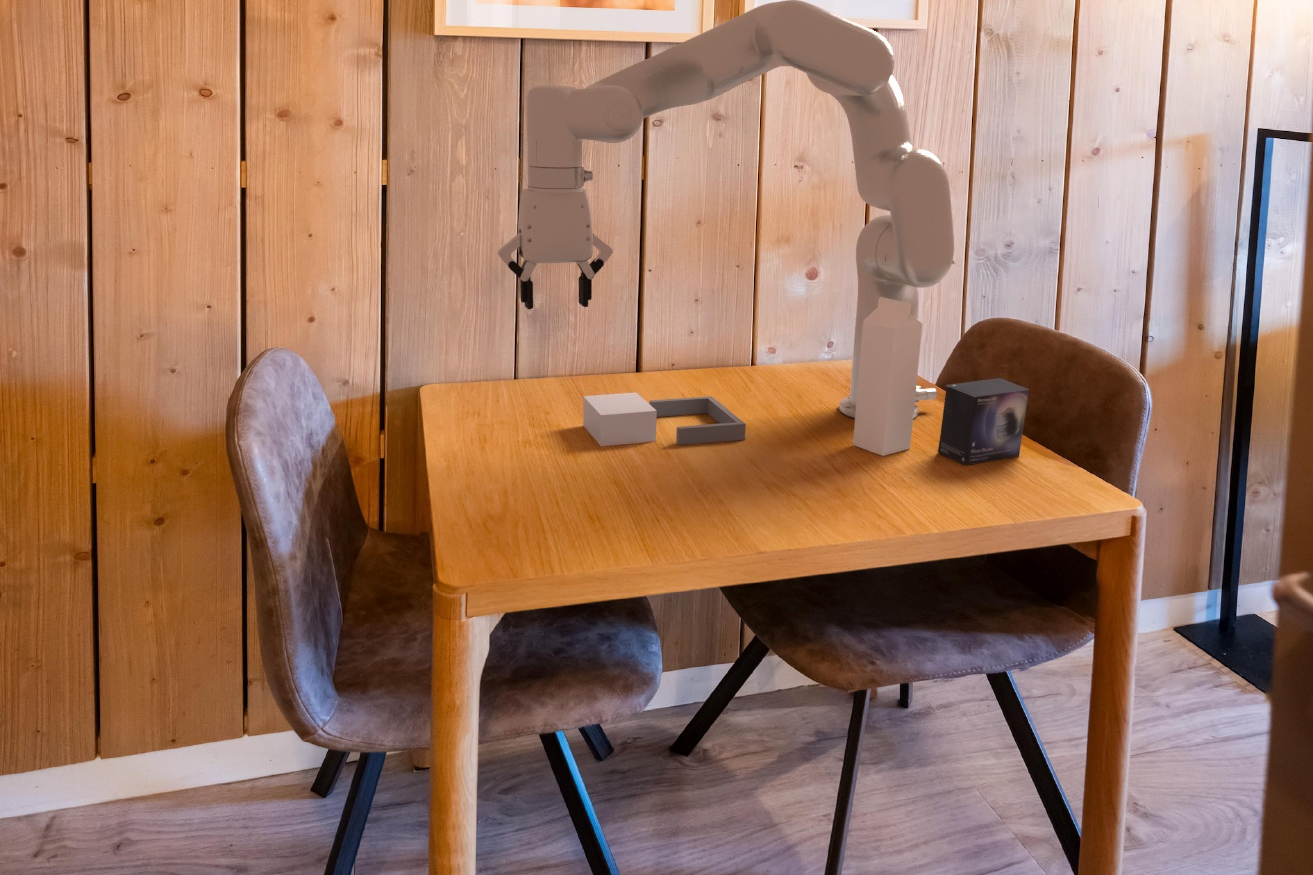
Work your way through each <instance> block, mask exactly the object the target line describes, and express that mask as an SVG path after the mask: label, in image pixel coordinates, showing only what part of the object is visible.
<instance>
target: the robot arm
mask: <svg viewBox="0 0 1313 875" xmlns="http://www.w3.org/2000/svg"><path fill="white" fill-rule="evenodd" d="M894 55H895V54H894V52H893V49H892V47H891V45H890V43H889V42H888V41H887V39H886V38H885V37H884V36H883V35H881V34H880V33H879V32H877V31H874V30H873V29H871V28H868V27H866V26H863V25H861V24H858V23H856V22H853V21H851V20H849V19H847V18H844V17H842V16H839V15H838V14H835V13H833V12H831V11H828V10H826V9H824V8H821V7H819V6H817V5H814V4H813V3H809V2H806V1H803V0H782V1H781V0H780V1H775V2H768V3H764V4H761V5H759V6H757V7H755V8H753V9H749V11H747V12H743V13H742V14H740V15H738V16H735V17H733V18H731V19H730V20H728V21H727V20H726V21H725V22H724V23H723V22H722V23H721V24H719V25H717V26H714V27H712V28H711V29H708V30H706V31H704V32H702V33H699V34H697V35H695V36H694V37H691V38H689V39H687V40H684V41H682V42H681V43H678V44H676V45H673V46H671V47H669V48H667V49H665V50H663V51H662V52H659V53H657V54H655V55H652V56H651V57H648V58H647V59H643V60H641V61H639V62H636V63H634V64H632V65H630V66H627V67H625V68H623V69H621V70H619V71H617V72H615V73H612V74H610V75H609V76H606V77H604V78H602V79H600V80H598V81H596V82H594V83H592V84H590V85H588V86H586V87H585V88H577V87H574V86H569V85H535V86H533V87H531V88H530V89H529V90H528V92H527V94H526V142H527V143H526V144H527V145H526V146H527V147H526V148H527V151H526V152H527V188H523V189H521V194H520V199H519V200H520V201H519V207H518V225H517V226H518V227H517V234H516V235H515V236H514V237H512V238H511V239H510V240H509V241H508V242H507V243H505V244H504V245H503V246H501V247H500V248H499V249H498V250H497V255H498V256H499V257H500V259H501V260H502V262H503V263H504V264H505V265H506V266H507V267H508V269H510V271H512V272H513V273H514V274H515V276H517V277H518V278H519V287H520V288H519V290H520V297H519V298H520V303H523V304H524V307H525V308H526V309H527V310H532V309H534V282H533V281H532V278H531V276H532V273H533V272H534V271H535V268H536V266H537V265H538V264H562V263H563V264H566V263H567V264H570V263H572V264H573V263H576V264H577V266H578V268H579V271H580V276H578V304H579V305H581V307H583V308H588V307H589V301H592V299H593V297H592V296H593V295H592V294H593V293H592V292H593V287H592V286H593V285H592V283H593V282H592V281H593V280H592V279H594V278H595V276H596V274H597V273H598V272H599V271H600V270H601V269H602V268H603V267H604V265H605V263H606V262H607V260H609V258H610V257H611V256H612V254H613V252H614V250H613V248H612V247H610V246H609V245H608V244H607V243H606V242H604V241H602V240H601V239H600V238H599V237H598V236H596V234H594V233H593V225H592V224H593V223H592V215H591V207H590V206H591V205H590V201H589V195H588V190H587V189H586V188H583V187H584V186H585V183H587V182H589V181H590V182H592V181H593V179H594V178H593V177H594V176H593V175H594V174H593V171H592V170H587V169H585V168H584V166H583V140H589V141H596V142H603V143H608V144H620V143H623V142H625V141H626V142H627V140H630V139H631V138H633V137H634V136H635V135H636V134H637V133H638V131H639V130H640V128H641V126H642V123H643V120H644V119H646V118H648V117H650V116H652V115H655V114H657V113H661V112H664V111H666V110H670V109H673V108H678V107H679V108H680V107H684V106H692V105H696V104H701V103H703V102H706V101H710V100H712V99H714V98H717V97H719V96H721V95H723V94H725V93H727V92H729V91H730V90H732V89H735V88H736V87H738V86H741V85H742V84H745V83H746V82H749V81H751V80H752V79H756V78H758V77H761V75H764V74H766V73H768V72H770V71H773V70H774V69H777V68H780V67H791V68H794V69H796V70H798V71H801V72H803V73H805V74H806V76H807V78H808V80H809V81H810V83H811V84H812V85H813V86H814V87H815V88H817V89H818V90H820V91H821V92H823V93H826V94H829V95H830V96H832V97H833V98H834V99H835V100H837V102H838V103H839V104H840V106H841V108H842V109H843V111H844V113H845V115H846V118H847V121H848V126H849V130H850V135H851V144H852V152H853V161H854V169H855V177H856V178H855V179H856V186H857V192H858V195H859V196H860V198H861V200H862V201H863V202H865V203H866V204H867V205H868V206H871V207H874V208H876V209H879V210H883V211H886V212H890V214H887V215H886V214H885V215H880V216H878V217H875V218H873V219H870V221H868V222H867V223H866V224H865V226H863V228H862V229H861V231H860V232H859V235H858V237H857V241H856V245H855V246H856V247H855V262H856V264H855V265H856V273H857V302H856V303H857V304H856V305H857V306H856V316H855V326H854V337H853V338H854V339H853V350H852V351H853V352H852V362H851V363H852V364H851V374H850V375H851V377H850V390H849V396H847V397H844V398H842V399H841V400H840V401H839V407H838V408H839V411H840V413H843V414H844V415H845V416H847V417H850V418H853V419H855V414H856V402H857V390H858V378H859V366H860V354H861V342H862V329H863V321H864V320H865V319H866V318H867V317H868V316H869V315H870V314H871V313H872V312H873V311H874V310H875V309H876V308H877V307H878V300H879V297H884V298H888V299H893V300H897V301H902V302H906V303H910V304H911V313H910V314H911V315H912V316H913V317H915V318H916V319H917V320H918V315H919V293H918V292H919V291H918V288H921V289H922V288H930V287H933V286H935V285H937V284H938V283H940V282H942V280H943V279H944V278H946V276H947V275H948V273H949V271H950V269H951V267H952V264H953V261H954V260H953V259H954V256H955V238H954V237H955V236H954V223H953V222H954V221H953V212H952V202H951V201H952V200H951V190H950V182H949V177H948V174H947V171H946V169H945V167H944V165H943V164H942V162H941V160H940V159H939V158H938V157H937V156H936V155H935V154H933V153H931V152H930V151H928V150H926V149H923V148H918V147H913V144H912V138H911V132H910V126H909V119H908V118H909V117H908V112H907V109H906V108H907V107H906V103H905V102H906V101H905V99H904V95H903V93H902V90H901V88H900V86H899V84H898V82H897V81H896V79H895V77H894V76H893V72H894V69H895V56H894ZM594 247H595V248H596V249H597V250H598V254H597V255H596V257H595V258H594V259H593V260H592V261H591V262H590V263H589V260H590V259H591V258H592V256H593V253H594ZM516 250H517V252H518V255H519V256H520V257H521V258H522V259H523V261H522V262H521V265H519V264H518V263H517V262H516V261H515V259H513V257H512V254H513V252H515V251H516ZM937 392H938V391H937V389H936V388H935V387H926V388H922V386H920V385H916V394H915V404H914V414H913V419H915V418H916V417H917V416H918V413H919V407H918V405H916V403H919V402H920V401H932V400H936V399H937V396H938V394H937Z"/></svg>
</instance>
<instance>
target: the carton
mask: <svg viewBox="0 0 1313 875" xmlns="http://www.w3.org/2000/svg"><path fill="white" fill-rule="evenodd" d="M582 400H583V406H582V407H583V416H582V417H583V423H582V424H583V427H584V428H585V430H586V431H587V432H588V433H589V434H590V435H591V436H592V438H593V439H594V440H595V441H596V442H597V444H598V445H599V446H600V447H605V446H617V445H618V446H619V445H628V444H629V445H630V444H641V443H651V442H657V418H658V417H657V411H656V410H655V409H654V408H653V407H652V406H651V405H650V404H649V401H647V400H645V399H644V397H642V396H641V395H640V394H639V393H638V392H624V393H609V394H596V395H584V396H583V399H582Z"/></svg>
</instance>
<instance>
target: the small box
mask: <svg viewBox="0 0 1313 875" xmlns="http://www.w3.org/2000/svg"><path fill="white" fill-rule="evenodd" d="M1029 391H1030V389H1029V388H1026V387H1025V386H1021V385H1018V384H1016V383H1013V382H1011V381H1008V380H1006V379H1003V378H1001V377H997V378H995V377H994V378H989V379H988V378H987V379H981V380H975V381H974V380H973V381H967V382H959V383H950V384H946V385H945V396H944V403H943V412H942V419H941V420H942V421H941V426H940V434H939V442H938V449H937V453H938V454H940V455H942V456H944V457H946V458H949V459H951V460H952V461H953V460H954V461H955V462H958V463H960V464H962V465H965V466H969V465H976V464H981V463H986V462H987V463H988V462H993V461H998V460H1004V459H1011V458H1017V457H1020V453H1021V446H1022V441H1023V440H1022V438H1023V433H1024V427H1025V426H1024V425H1025V418H1026V412H1027V405H1028V398H1029Z"/></svg>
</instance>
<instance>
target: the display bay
mask: <svg viewBox="0 0 1313 875" xmlns="http://www.w3.org/2000/svg"><path fill="white" fill-rule="evenodd" d="M648 403H649V404H650V405H651V406H652V407H653V408H654V409H655V410H656V411H657V418H659V417H674V416H688V415H701V414H702V415H703V414H708V415H709V416H710V417H711V418H712V419H714V420H715V421H716V422H717V423H711V424H699V425H698V424H697V425H696V424H695V425H686V426H685V425H684V426H682V425H681V426H676V434H675V435H676V438H675V441H676V445H678V446H683V445H696V444H697V445H698V444H707V443H708V444H709V443H720V442H734V441H745V440H746V425H747V424H746V423H745V422H744V421H743V420H742V419H740V418H739V417H738V416H736V414H734V413H733V412H732V411H731V410H729V409H728V408H727V407H726V406H724V405H723V404H722V403H721V402H720V401H718V400H717V399H716V398H715V397H713V396H712V395H711V396H696V397H682V398H679V397H678V398H668V399H667V398H665V399H653V400H649V401H648Z"/></svg>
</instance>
